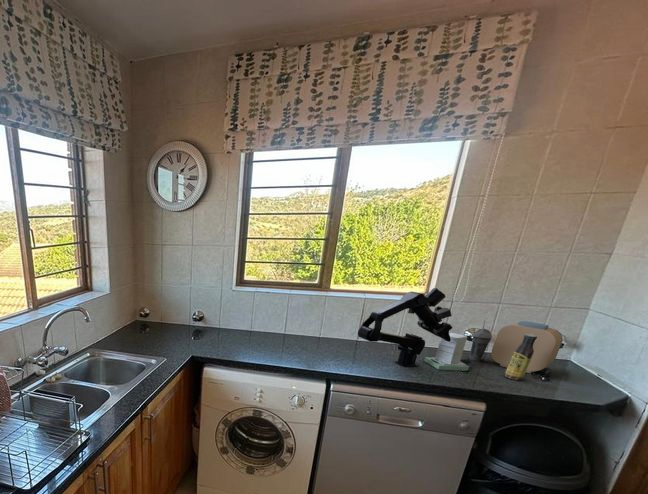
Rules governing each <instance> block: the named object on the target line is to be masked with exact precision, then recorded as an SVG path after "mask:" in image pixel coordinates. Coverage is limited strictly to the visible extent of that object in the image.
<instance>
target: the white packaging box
mask: <svg viewBox="0 0 648 494" xmlns="http://www.w3.org/2000/svg"><path fill="white" fill-rule="evenodd" d="M449 335H450V339H451V341H449V342H448V341H446V340H444V339H442V338H440V340H439V344H438V346H437V350H436V353H435V356H434V357H435V359H436V360H439V361H442V362H445V363H448V364H452V363H457V362H461V360H462V357H463V353H464V350H465V346H466V342H467V340H468V336H467V335H464V334H458V333H454V332H449Z"/></svg>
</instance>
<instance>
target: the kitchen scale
mask: <svg viewBox="0 0 648 494" xmlns="http://www.w3.org/2000/svg"><path fill="white" fill-rule="evenodd" d="M435 357H436V356H432V357H430V356H429V357H425V358H424V362H425V363H426V364H428V365H430V366H432V367H433V368H435V369H436V370H440V371H462V372H463V371H465V372H466V371H467V372H468V371H469V370H470V366H469V365H467V364H466V363H464V362H463V361H460V362H457V363H452V364H448V363H445V362H442V361H439V360H436V359H435Z"/></svg>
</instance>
